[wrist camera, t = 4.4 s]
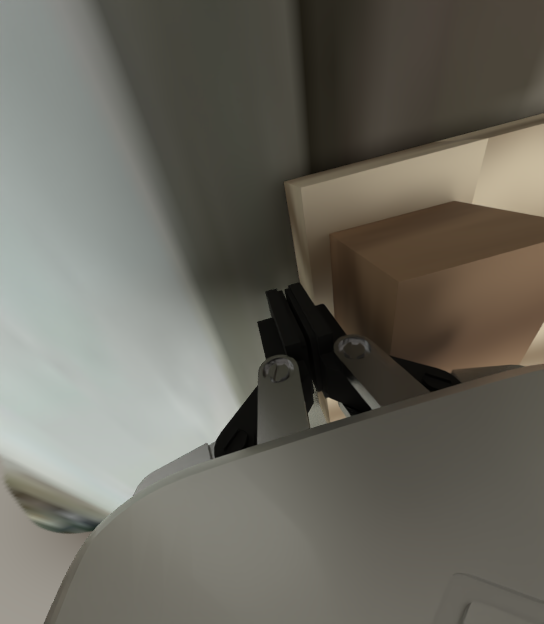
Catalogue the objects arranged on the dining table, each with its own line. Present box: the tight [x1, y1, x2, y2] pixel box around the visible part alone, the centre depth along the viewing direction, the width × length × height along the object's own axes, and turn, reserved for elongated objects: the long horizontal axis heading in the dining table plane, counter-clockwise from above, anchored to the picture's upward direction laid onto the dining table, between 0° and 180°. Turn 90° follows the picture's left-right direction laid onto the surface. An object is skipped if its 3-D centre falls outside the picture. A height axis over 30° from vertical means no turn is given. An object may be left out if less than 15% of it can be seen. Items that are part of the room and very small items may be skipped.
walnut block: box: [329, 201, 544, 373], centre depth 10 cm, size 6×6×5 cm
